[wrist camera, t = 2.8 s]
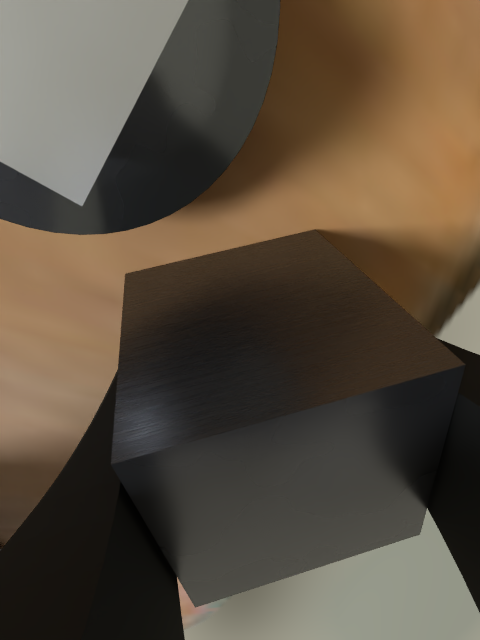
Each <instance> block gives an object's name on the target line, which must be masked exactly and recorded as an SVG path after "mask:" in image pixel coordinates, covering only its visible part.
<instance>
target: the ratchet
mask: <svg viewBox="0 0 480 640" xmlns="http://www.w3.org/2000/svg"><path fill="white" fill-rule="evenodd" d="M279 16H280V0H0V219H3V220H6V221H9V222H12V223H16V224H19V225H22V226H25V227H29V228H34V229H39V230H44V231H49V232H54V233H66V234H78V235H86V234H107V233H113V232H120V231H126V230H130V229H134V228H137V227H141V226H144V225H147V224H151V223H153V222H155V221H157V220H160V219H162V218H164V217H167V216H169V215H171V214H173V213H174V212H176V211H178V210H179V209H181V208H182V207H184V206H186V205H187V204H189V203H191V202H192V201H193V200H194V199H196V198H197V197H198V196H199V195H201V194H202V193H203V192H204V191H205V190H207V189H208V188H209V187H210V186H211V185H212V184H213V183H214V182H215V181H216V180H217V179H218V177H219V176H220V175H221V174H222V173H223V172H224V171H225V170H226V169H227V167H228V166H229V164H230V163H231V162H232V160H233V159H234V158H235V156H236V155H237V154H238V152H239V151H240V149H241V147H242V146H243V144H244V142H245V140H246V138H247V137H248V135H249V133H250V131H251V130H252V128H253V125H254V123H255V121H256V118H257V116H258V113H259V111H260V109H261V106H262V104H263V101H264V98H265V94H266V91H267V87H268V84H269V81H270V77H271V74H272V69H273V63H274V58H275V52H276V47H277V41H278V28H279Z"/></svg>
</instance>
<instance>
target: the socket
mask: <svg viewBox="0 0 480 640" xmlns="http://www.w3.org/2000/svg"><path fill="white" fill-rule="evenodd" d="M465 365H466V364H464V363H463V362H462V361H461V360H460V359H459V358H458V357H457V356H455V355H454V354H453V353H452V352H451V351H450V350H449V349H448V348H447V347H445V346H444V345H443V344H442V343H441V342H440V341H439V340H438V339H437V338H435V337H434V336H433V335H432V334H431V333H430V332H429V331H428V330H426V329H425V328H424V327H423V326H422V325H421V324H420V323H419V322H418V321H416V320H415V319H414V318H413V317H412V316H411V315H410V314H409V313H408V312H406V311H405V310H404V309H403V308H402V307H401V306H400V305H399V304H397V303H396V302H395V301H394V300H393V299H392V298H391V297H390V296H389V295H387V294H386V293H385V292H384V291H383V290H382V289H381V288H380V287H379V286H377V285H376V284H375V283H374V282H373V281H372V280H371V279H370V278H368V277H367V276H366V275H365V274H364V273H363V272H362V271H361V270H360V269H358V268H357V267H356V266H355V265H354V264H353V263H352V262H351V261H350V260H348V259H347V258H346V257H345V256H344V255H343V254H342V253H341V252H339V251H338V250H337V249H336V248H335V247H334V246H333V245H332V244H331V243H329V242H328V241H327V240H326V239H325V238H324V237H323V236H322V235H321V234H319V233H318V232H317V231H316V230H312V231H307V232H303V233H299V234H295V235H290V236H286V237H282V238H277V239H273V240H269V241H265V242H260V243H256V244H252V245H248V246H243V247H239V248H235V249H230V250H226V251H222V252H218V253H213V254H209V255H205V256H200V257H196V258H192V259H188V260H183V261H179V262H175V263H170V264H166V265H162V266H158V267H153V268H149V269H145V270H141V271H136V272H132V273H128V274H125V284H124V298H123V311H122V324H121V337H120V351H119V364H118V377H117V390H116V404H115V417H114V430H113V443H112V456H111V466H112V467H113V469H114V471H115V472H116V474H117V476H118V477H119V479H120V481H121V483H122V484H123V486H124V488H125V489H126V491H127V493H128V494H129V496H130V498H131V499H132V501H133V503H134V505H135V506H136V508H137V510H138V511H139V513H140V515H141V516H142V518H143V520H144V522H145V523H146V525H147V527H148V528H149V530H150V532H151V533H152V535H153V537H154V538H155V540H156V542H157V544H158V545H159V547H160V549H161V550H162V552H163V554H164V555H165V557H166V559H167V560H168V562H169V564H170V566H171V567H172V569H173V571H174V572H175V574H176V576H177V577H178V579H179V581H180V582H181V584H182V586H183V588H184V589H185V591H186V593H187V594H188V596H189V598H190V599H191V601H192V603H193V604H194V606H195V607H198V606H201V605H204V604H208V603H211V602H214V601H217V600H220V599H223V598H226V597H229V596H232V595H235V594H238V593H241V592H244V591H247V590H250V589H254V588H256V587H260V586H263V585H266V584H269V583H272V582H275V581H278V580H281V579H284V578H287V577H290V576H294V575H297V574H300V573H303V572H306V571H309V570H312V569H315V568H318V567H321V566H324V565H327V564H330V563H333V562H336V561H340V560H343V559H346V558H349V557H352V556H355V555H358V554H361V553H364V552H367V551H370V550H373V549H376V548H380V547H383V546H385V545H389V544H392V543H395V542H398V541H401V540H404V539H407V538H410V537H413V536H416V535H419V534H420V532H421V528H422V525H423V521H424V517H425V514H426V509H427V506H428V502H429V499H430V495H431V491H432V488H433V484H434V480H435V476H436V473H437V469H438V465H439V462H440V458H441V454H442V450H443V447H444V443H445V439H446V436H447V432H448V428H449V425H450V421H451V417H452V413H453V410H454V406H455V402H456V399H457V395H458V391H459V387H460V384H461V380H462V376H463V373H464V369H465Z"/></svg>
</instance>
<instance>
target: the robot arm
mask: <svg viewBox="0 0 480 640" xmlns="http://www.w3.org/2000/svg"><path fill="white" fill-rule="evenodd" d="M437 339H438V338H437ZM438 340H439V341H440V342H441V343H442V344H443V345H444V346H445V347H447V348H448V349H449V350H450V351H451V352H452V353H453V354H454V355H455V356H457V357H458V358H459V359H460V360H461V361H462V362H463V363H464V364H466V365H465V369H464V373H463V376H462V380H461V384H460V387H459V391H458V395H457V399H456V402H455V406H454V410H453V413H452V417H451V421H450V425H449V428H448V432H447V436H446V439H445V443H444V447H443V450H442V454H441V458H440V462H439V465H438V469H437V473H436V476H435V480H434V484H433V488H432V491H431V495H430V499H429V502H428V506H427V508H428V510H429V512H430V514H431V516H432V518H433V519H434V521H435V523H436V525H437V527H438V528H439V530H440V533H441V534H442V536H443V538H444V540H445V542H446V544H447V546H448V548H449V550H450V552H451V554H452V556H453V558H454V560H455V562H456V564H457V566H458V568H459V570H460V572H461V574H462V576H463V578H464V580H465V582H466V585H467V587H468V589H469V591H470V593H471V595H472V597H473V599H474V601H475V604H476V606H477V608H478V610H479V612H480V355H478V354H475V353H472V352H470V351H467V350H465V349H462V348H460V347H457V346H455V345H452V344H450V343H447V342H445V341H442V340H440V339H438ZM117 377H118V370H117V372H116V374H115V377H114V379H113V381H112V383H111V385H110V387H109V389H108V391H107V393H106V395H105V397H104V399H103V401H102V403H101V405H100V407H99V409H98V411H97V413H96V414H95V416H94V418H93V420H92V422H91V424H90V426H89V427H88V429H87V431H86V432H85V434H84V436H83V437H82V439H81V441H80V443H79V444H78V446H77V448H76V449H75V451H74V453H73V454H72V456H71V457H70V459H69V461H68V462H67V464H66V465H65V467H64V468H63V470H62V471H61V473H60V474H59V476H58V477H57V479H56V480H55V481H54V483H53V484H52V486H51V487H50V488H49V490H48V491H47V493H46V494H45V495H44V497H43V498H42V499H41V501H40V502H39V503H38V505H37V506H36V507H35V509H34V510H33V511H32V512H31V514H30V515H29V516H28V517H27V519H26V520H25V521H24V522H23V524H22V525H21V526H20V527H19V528H18V530H17V531H16V532H15V533H14V535H13V536H12V537H11V538H10V540H9V541H8V542H7V543H6V544H5V546H4V547H3V548H2V549H0V640H185V639H184V631H183V624H182V616H181V608H180V600H179V592H178V583H177V576H176V574H175V572H174V571H173V569H172V567H171V566H170V564H169V562H168V560H167V559H166V557H165V555H164V554H163V552H162V550H161V549H160V547H159V545H158V544H157V542H156V540H155V538H154V537H153V535H152V533H151V532H150V530H149V528H148V527H147V525H146V523H145V522H144V520H143V518H142V516H141V515H140V513H139V511H138V510H137V508H136V506H135V505H134V503H133V501H132V499H131V498H130V496H129V494H128V493H127V491H126V489H125V488H124V486H123V484H122V483H121V481H120V479H119V477H118V476H117V474H116V472H115V471H114V469H113V467H112V466H111V456H112V443H113V430H114V417H115V404H116V390H117Z"/></svg>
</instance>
